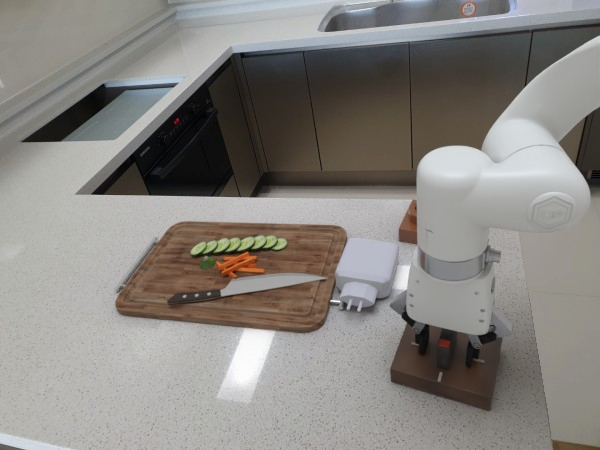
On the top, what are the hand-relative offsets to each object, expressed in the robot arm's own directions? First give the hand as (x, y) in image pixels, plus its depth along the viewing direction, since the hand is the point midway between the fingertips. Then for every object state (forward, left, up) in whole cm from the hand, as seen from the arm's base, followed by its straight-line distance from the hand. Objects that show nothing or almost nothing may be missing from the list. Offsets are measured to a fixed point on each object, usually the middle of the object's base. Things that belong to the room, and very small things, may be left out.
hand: (446, 351), depth 63 cm
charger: (+16, -11, -3) cm, 20 cm away
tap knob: (0, 0, 0) cm, 0 cm away
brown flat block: (0, 0, -3) cm, 3 cm away
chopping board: (+41, -9, -3) cm, 42 cm away
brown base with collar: (+8, -30, -3) cm, 31 cm away
